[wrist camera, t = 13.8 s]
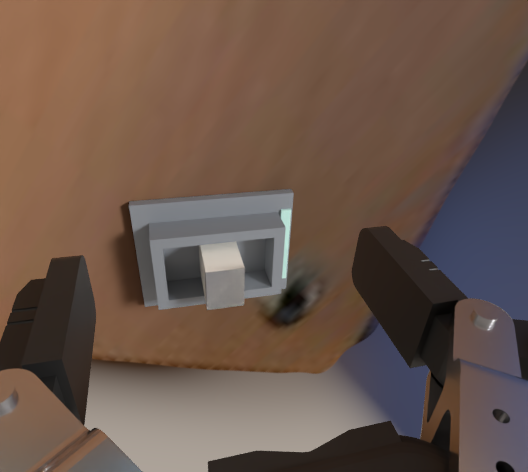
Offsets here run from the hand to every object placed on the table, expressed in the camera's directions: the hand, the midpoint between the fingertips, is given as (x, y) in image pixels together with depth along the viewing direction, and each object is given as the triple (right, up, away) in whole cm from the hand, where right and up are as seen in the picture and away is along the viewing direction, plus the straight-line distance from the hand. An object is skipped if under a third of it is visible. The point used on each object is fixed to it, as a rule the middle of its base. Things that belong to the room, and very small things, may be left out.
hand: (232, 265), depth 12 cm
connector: (-5, -1, +37) cm, 37 cm away
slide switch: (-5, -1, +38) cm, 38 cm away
